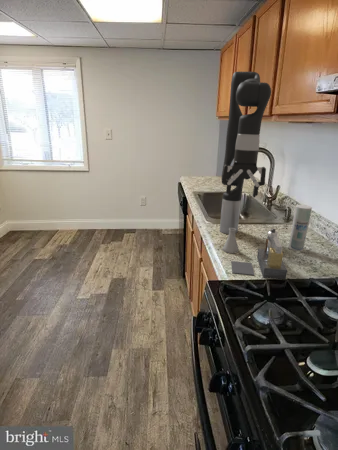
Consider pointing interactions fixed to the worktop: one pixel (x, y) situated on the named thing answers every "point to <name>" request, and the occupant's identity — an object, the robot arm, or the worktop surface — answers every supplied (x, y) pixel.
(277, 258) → the tan upright block
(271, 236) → the lever
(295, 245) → the spray can
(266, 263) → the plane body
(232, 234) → the flask
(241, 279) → the worktop surface
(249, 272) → the mat
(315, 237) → the worktop surface
